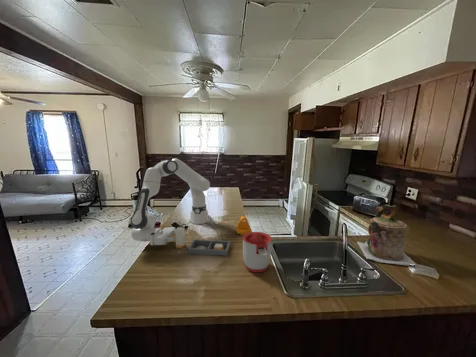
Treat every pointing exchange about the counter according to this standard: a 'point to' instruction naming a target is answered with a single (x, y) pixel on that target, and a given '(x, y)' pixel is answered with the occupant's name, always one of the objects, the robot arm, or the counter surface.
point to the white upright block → (180, 237)
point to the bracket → (243, 226)
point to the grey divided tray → (209, 247)
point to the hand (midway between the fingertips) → (177, 235)
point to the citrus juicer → (256, 251)
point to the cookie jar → (386, 238)
